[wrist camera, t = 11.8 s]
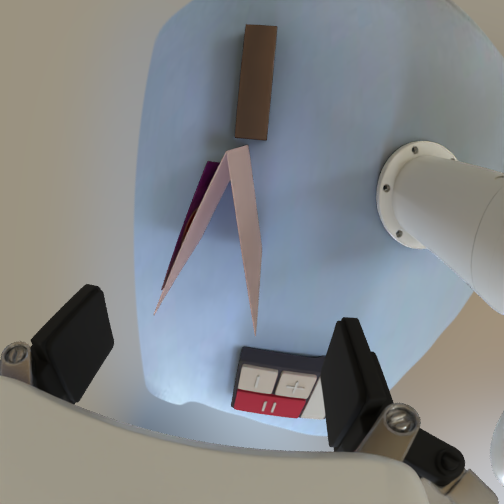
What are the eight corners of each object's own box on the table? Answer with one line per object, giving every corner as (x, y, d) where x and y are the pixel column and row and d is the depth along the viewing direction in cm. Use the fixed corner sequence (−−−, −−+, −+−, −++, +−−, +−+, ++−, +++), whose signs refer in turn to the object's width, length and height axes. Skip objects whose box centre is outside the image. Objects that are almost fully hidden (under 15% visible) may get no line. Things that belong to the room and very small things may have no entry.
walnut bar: (276, 34, 23) (277, 26, 20) (266, 140, 27) (266, 140, 25) (247, 32, 23) (245, 24, 20) (237, 137, 27) (234, 137, 25)
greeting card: (240, 140, 27) (211, 143, 14) (304, 174, 28) (338, 211, 15) (194, 234, 32) (142, 309, 18) (253, 263, 33) (241, 356, 19)
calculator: (238, 364, 34) (351, 379, 33) (242, 342, 38) (346, 358, 37) (229, 411, 38) (324, 423, 38) (233, 391, 42) (323, 403, 42)
